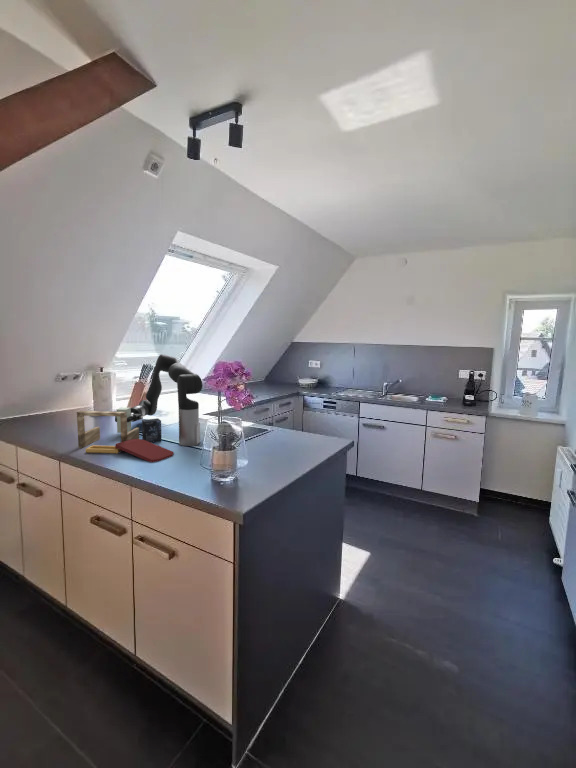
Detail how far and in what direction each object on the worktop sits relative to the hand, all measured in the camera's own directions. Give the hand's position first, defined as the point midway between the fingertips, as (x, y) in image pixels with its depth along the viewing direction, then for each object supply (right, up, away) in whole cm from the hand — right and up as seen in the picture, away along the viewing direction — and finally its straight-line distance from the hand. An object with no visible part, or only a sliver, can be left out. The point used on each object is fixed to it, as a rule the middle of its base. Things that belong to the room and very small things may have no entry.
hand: (121, 420), depth 186 cm
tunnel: (0, -10, -11) cm, 15 cm away
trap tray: (+3, -11, -23) cm, 26 cm away
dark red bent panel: (+21, -13, -25) cm, 35 cm away
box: (+17, -10, -6) cm, 21 cm away
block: (0, -6, +3) cm, 7 cm away
